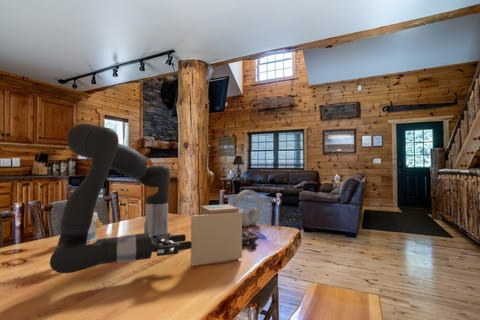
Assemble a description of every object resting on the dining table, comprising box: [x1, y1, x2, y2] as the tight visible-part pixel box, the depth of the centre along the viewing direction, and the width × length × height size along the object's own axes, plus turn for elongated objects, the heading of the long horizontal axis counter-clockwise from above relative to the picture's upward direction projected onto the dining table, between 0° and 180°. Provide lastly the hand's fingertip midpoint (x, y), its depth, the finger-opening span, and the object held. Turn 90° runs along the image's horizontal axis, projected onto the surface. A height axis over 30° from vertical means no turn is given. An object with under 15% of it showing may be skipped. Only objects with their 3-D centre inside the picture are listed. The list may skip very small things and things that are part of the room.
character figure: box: [87, 208, 103, 243], centre depth 114 cm, size 8×10×18 cm
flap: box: [190, 212, 243, 267], centre depth 87 cm, size 18×1×16 cm, turn 115°
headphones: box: [232, 189, 262, 228], centre depth 142 cm, size 19×8×20 cm, turn 127°
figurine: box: [242, 229, 259, 250], centre depth 116 cm, size 13×6×30 cm
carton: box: [200, 203, 240, 265], centre depth 94 cm, size 11×10×18 cm
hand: (188, 241), depth 83 cm, fingers open, 8 cm apart
